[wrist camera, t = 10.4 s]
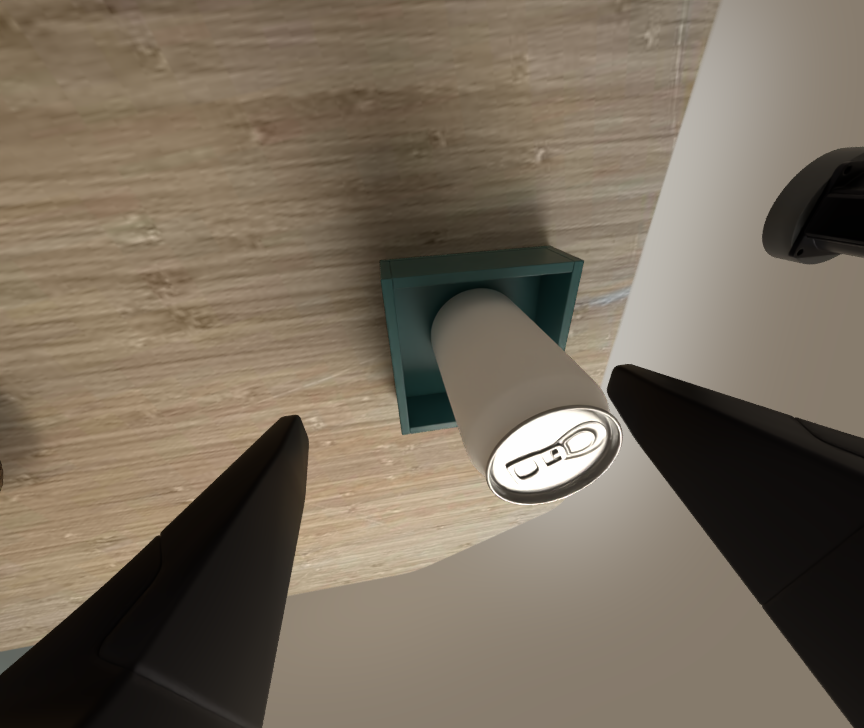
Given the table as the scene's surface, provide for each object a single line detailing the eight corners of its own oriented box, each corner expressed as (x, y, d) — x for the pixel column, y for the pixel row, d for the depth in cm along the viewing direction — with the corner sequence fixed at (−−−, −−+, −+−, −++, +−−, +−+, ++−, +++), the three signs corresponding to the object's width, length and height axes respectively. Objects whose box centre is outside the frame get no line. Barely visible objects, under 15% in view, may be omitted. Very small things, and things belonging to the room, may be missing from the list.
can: (529, 339, 23) (644, 467, 13) (455, 381, 24) (511, 528, 14) (496, 266, 20) (618, 364, 10) (412, 318, 21) (446, 455, 11)
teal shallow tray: (550, 245, 20) (584, 260, 17) (529, 382, 26) (551, 413, 23) (379, 260, 19) (380, 279, 16) (398, 400, 25) (402, 435, 22)
